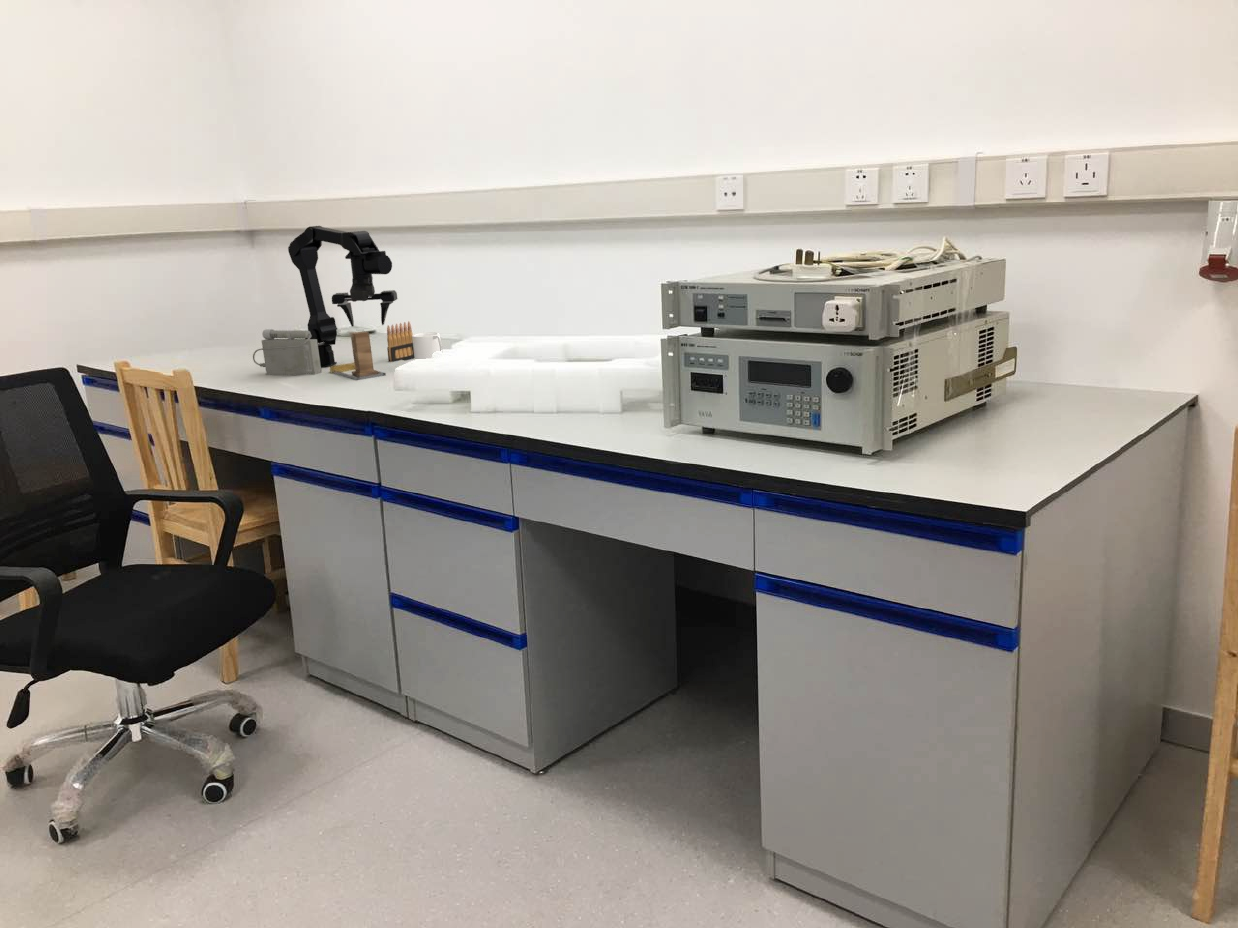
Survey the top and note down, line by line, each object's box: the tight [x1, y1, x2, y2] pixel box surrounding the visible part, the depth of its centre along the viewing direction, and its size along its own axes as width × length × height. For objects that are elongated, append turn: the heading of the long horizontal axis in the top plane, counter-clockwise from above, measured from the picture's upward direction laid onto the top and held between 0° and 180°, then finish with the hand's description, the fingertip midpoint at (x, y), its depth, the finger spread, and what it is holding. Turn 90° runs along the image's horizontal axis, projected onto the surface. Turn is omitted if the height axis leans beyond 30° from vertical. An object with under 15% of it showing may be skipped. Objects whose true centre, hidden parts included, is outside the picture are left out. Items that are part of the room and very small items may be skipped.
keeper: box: [350, 330, 379, 377], centre depth 294 cm, size 6×6×13 cm
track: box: [329, 362, 387, 381], centre depth 300 cm, size 21×9×2 cm, turn 36°
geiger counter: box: [252, 328, 323, 377], centre depth 309 cm, size 14×6×25 cm
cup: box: [412, 332, 443, 360], centre depth 305 cm, size 8×12×10 cm
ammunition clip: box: [386, 321, 415, 363], centre depth 322 cm, size 11×2×12 cm, turn 145°
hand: (367, 325), depth 307 cm, fingers open, 9 cm apart
